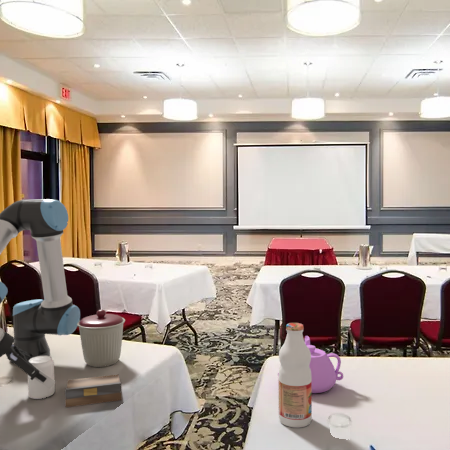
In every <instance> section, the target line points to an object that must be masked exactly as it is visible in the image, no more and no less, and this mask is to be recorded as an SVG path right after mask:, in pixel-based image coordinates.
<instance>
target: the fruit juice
mask: <svg viewBox="0 0 450 450" xmlns="http://www.w3.org/2000/svg"><path fill="white" fill-rule="evenodd" d="M304 329H305V328H304V324H302V323H299V322H289V323H287V324H286V326H285V331H286V333H287V334H286V337H285V340H284V343H283V345H282V346H281V348H280V349H279V351H278V359H279V362H280V364H279V365H280V366H279V368H278V372H279V375H278V374H277V376H278V377H277V378H278V380H277V381H278V419H279V422H280V423H281V424H282V425H284V426H286V427H289V428H295V429H297V428H304V427H307V426H309V425H310V424H311V423H312V418H313V417H312V414H313V413H312V408H313V407H312V404H313V403H312V395H313V393H312V375H311V369H310V367H309V364H310V361H311V352H310V350H309V348H308V347H307V346H306V344H305V337H304V335H303V332H304Z"/></svg>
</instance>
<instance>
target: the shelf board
mask: <svg viewBox="0 0 450 450" xmlns="http://www.w3.org/2000/svg"><path fill="white" fill-rule="evenodd" d="M64 396H65V398H64V399H65V400H64V401H65V404H64V405H65V408H72V407H78V406H85V405H94V404H95V405H96V404H102V403H108V402H109V403H111V402H119V401H122V400H123V398H122V382H121V381H120V376H119V374H117V373H116V374H111V375H100V376H93V377H92V376H91V377H85V378H84V377H83V378H74V379H67V384H66V388H64Z"/></svg>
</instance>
